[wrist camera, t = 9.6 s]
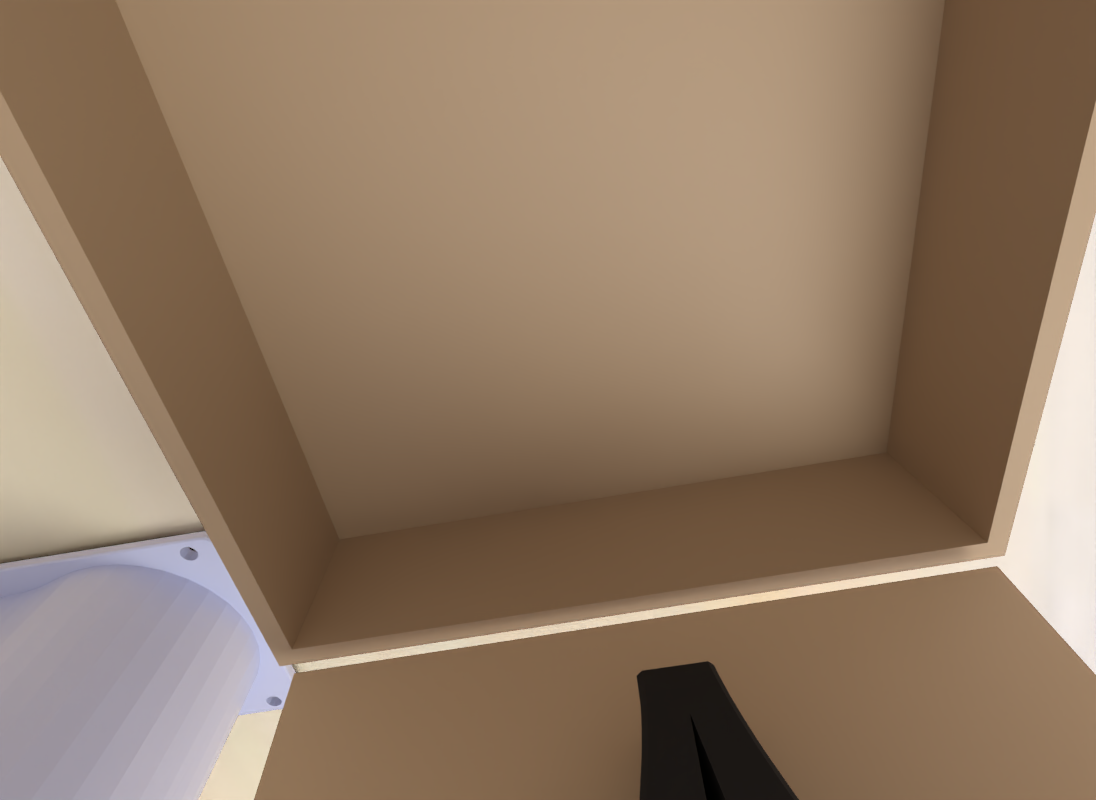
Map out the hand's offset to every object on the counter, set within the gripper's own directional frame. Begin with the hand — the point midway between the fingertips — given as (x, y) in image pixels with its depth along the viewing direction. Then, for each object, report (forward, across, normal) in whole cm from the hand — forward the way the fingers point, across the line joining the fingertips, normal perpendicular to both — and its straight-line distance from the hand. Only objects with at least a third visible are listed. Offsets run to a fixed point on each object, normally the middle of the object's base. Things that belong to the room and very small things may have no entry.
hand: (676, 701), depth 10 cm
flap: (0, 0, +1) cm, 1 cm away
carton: (+8, 0, -7) cm, 11 cm away
